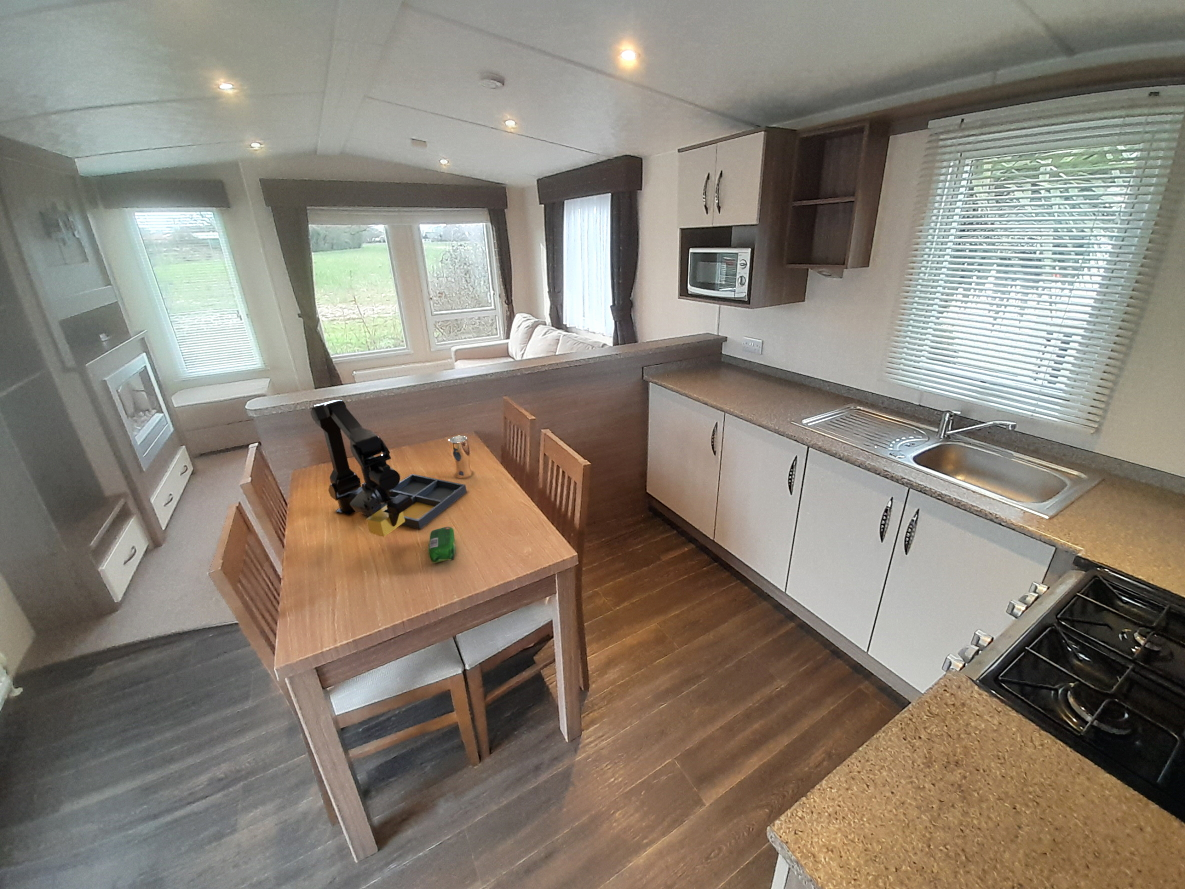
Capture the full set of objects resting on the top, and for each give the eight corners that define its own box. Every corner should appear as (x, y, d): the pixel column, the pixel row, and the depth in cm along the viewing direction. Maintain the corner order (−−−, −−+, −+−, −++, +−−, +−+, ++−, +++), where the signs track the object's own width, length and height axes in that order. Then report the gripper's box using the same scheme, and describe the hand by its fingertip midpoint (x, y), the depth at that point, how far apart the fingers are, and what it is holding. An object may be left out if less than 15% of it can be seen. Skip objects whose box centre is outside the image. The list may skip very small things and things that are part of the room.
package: (369, 533, 139) (366, 518, 137) (391, 517, 146) (387, 504, 144) (384, 537, 137) (380, 522, 135) (405, 521, 144) (401, 507, 142)
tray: (362, 514, 159) (360, 506, 158) (413, 481, 180) (411, 473, 178) (420, 529, 151) (418, 521, 149) (466, 492, 171) (465, 484, 170)
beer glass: (477, 472, 184) (471, 437, 178) (463, 480, 179) (457, 444, 172) (464, 468, 187) (458, 433, 181) (450, 476, 182) (444, 440, 176)
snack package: (430, 571, 132) (426, 556, 130) (432, 539, 146) (429, 524, 143) (456, 567, 133) (453, 552, 131) (455, 535, 147) (453, 521, 145)
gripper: (327, 485, 131) (341, 532, 138) (378, 497, 125) (391, 546, 131) (359, 467, 141) (371, 512, 147) (408, 478, 134) (418, 524, 141)
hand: (387, 523), depth 141 cm, fingers closed on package, 5 cm apart
